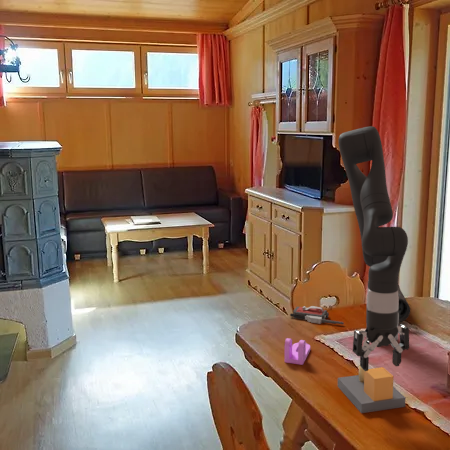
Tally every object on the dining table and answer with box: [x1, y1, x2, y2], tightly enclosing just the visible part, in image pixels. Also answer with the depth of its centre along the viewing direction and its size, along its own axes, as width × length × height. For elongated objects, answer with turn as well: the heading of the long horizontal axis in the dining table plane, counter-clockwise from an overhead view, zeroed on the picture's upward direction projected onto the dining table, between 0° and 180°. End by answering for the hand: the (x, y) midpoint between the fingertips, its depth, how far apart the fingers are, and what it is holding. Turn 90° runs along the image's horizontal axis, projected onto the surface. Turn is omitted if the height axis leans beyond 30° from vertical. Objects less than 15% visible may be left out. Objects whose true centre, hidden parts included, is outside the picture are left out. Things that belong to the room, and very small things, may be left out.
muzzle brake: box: [398, 284, 411, 323], centre depth 199 cm, size 10×28×10 cm, turn 172°
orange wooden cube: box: [364, 366, 394, 401], centre depth 134 cm, size 5×5×6 cm
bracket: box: [284, 337, 311, 366], centre depth 164 cm, size 13×6×7 cm, turn 159°
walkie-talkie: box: [289, 305, 345, 325], centre depth 193 cm, size 9×4×20 cm
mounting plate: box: [337, 364, 407, 414], centre depth 139 cm, size 12×14×6 cm
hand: (380, 367), depth 133 cm, fingers open, 8 cm apart
